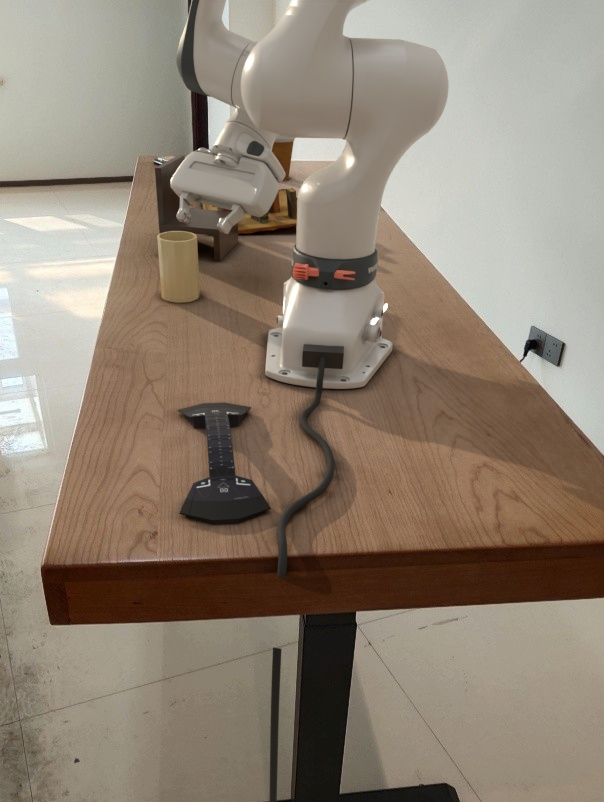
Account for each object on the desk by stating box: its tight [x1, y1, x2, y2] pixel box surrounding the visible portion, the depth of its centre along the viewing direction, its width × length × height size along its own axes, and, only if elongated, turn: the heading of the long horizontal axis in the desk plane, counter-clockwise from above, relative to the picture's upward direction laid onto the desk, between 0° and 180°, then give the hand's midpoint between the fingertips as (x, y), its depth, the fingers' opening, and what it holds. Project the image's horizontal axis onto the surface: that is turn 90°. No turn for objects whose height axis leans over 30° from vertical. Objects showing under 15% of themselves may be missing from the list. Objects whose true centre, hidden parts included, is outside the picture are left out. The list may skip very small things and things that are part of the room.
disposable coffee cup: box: [272, 135, 296, 181], centre depth 205 cm, size 10×10×12 cm
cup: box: [156, 231, 200, 304], centre depth 123 cm, size 6×6×10 cm
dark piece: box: [177, 402, 272, 525], centre depth 82 cm, size 9×25×3 cm, turn 8°
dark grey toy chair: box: [154, 154, 239, 262], centre depth 144 cm, size 14×12×16 cm
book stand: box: [200, 187, 298, 236], centre depth 167 cm, size 35×24×15 cm
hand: (201, 225), depth 123 cm, fingers open, 8 cm apart
